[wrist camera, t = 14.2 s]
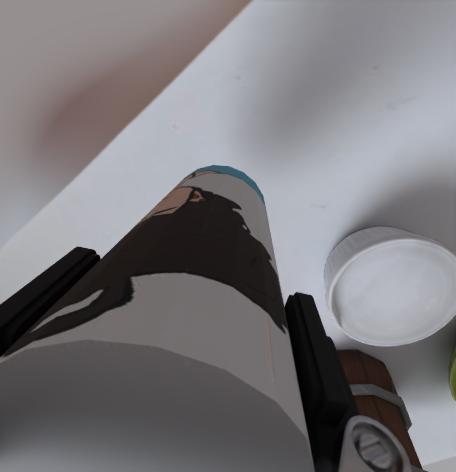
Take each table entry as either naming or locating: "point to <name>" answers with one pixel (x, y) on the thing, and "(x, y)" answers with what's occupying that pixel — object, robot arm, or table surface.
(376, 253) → the ramekin
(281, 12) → the table surface
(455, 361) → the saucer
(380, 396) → the mug
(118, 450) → the cup
